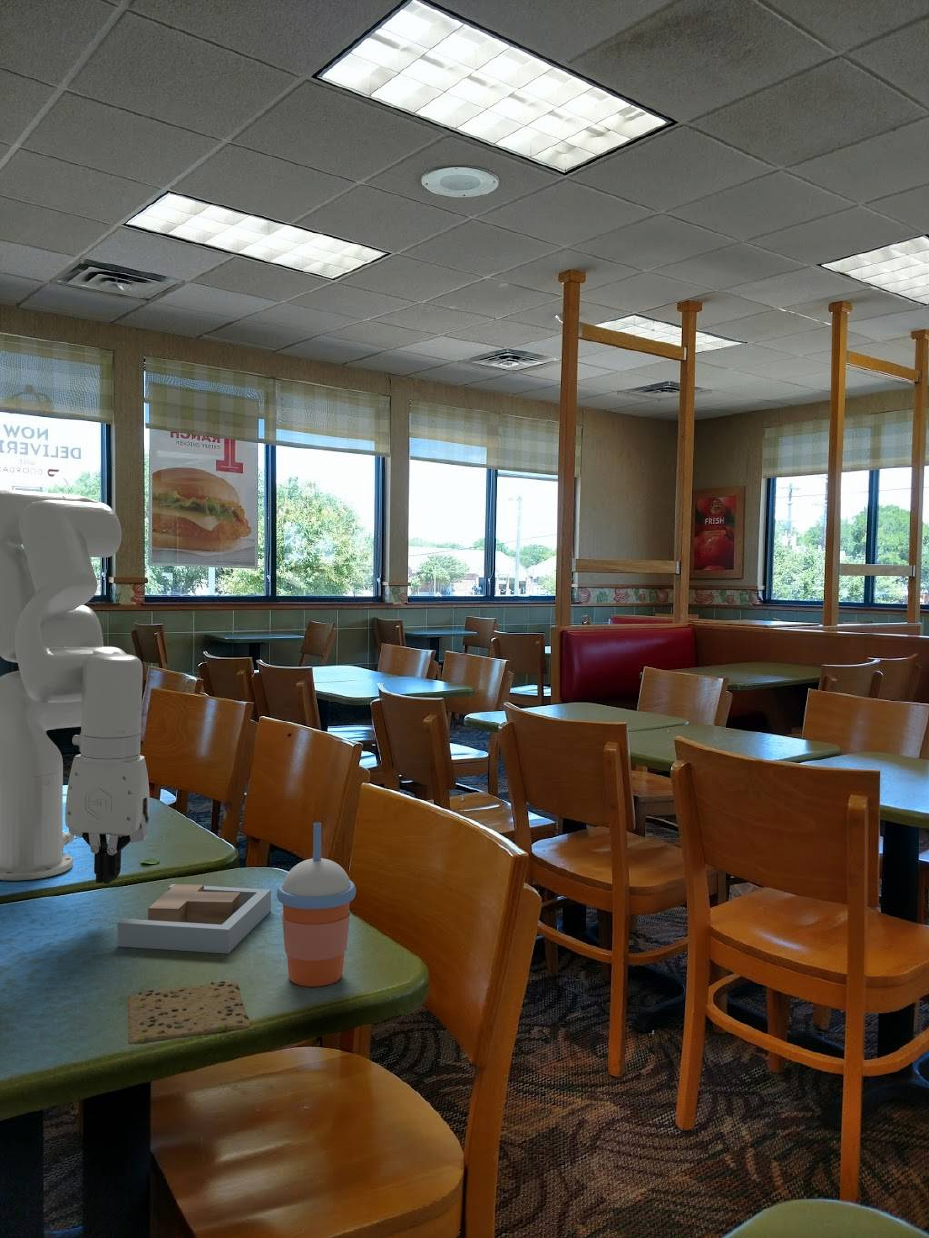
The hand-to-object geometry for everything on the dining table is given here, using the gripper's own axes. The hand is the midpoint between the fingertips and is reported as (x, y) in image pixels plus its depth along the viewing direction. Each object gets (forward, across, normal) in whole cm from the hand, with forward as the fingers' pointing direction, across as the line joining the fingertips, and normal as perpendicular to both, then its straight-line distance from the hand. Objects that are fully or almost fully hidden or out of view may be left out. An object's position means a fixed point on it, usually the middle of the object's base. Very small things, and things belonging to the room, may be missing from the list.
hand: (107, 879), depth 129 cm
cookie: (+4, +22, -25) cm, 34 cm away
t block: (+5, +13, 0) cm, 14 cm away
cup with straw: (+4, +33, -14) cm, 36 cm away
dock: (+5, +13, -1) cm, 14 cm away
